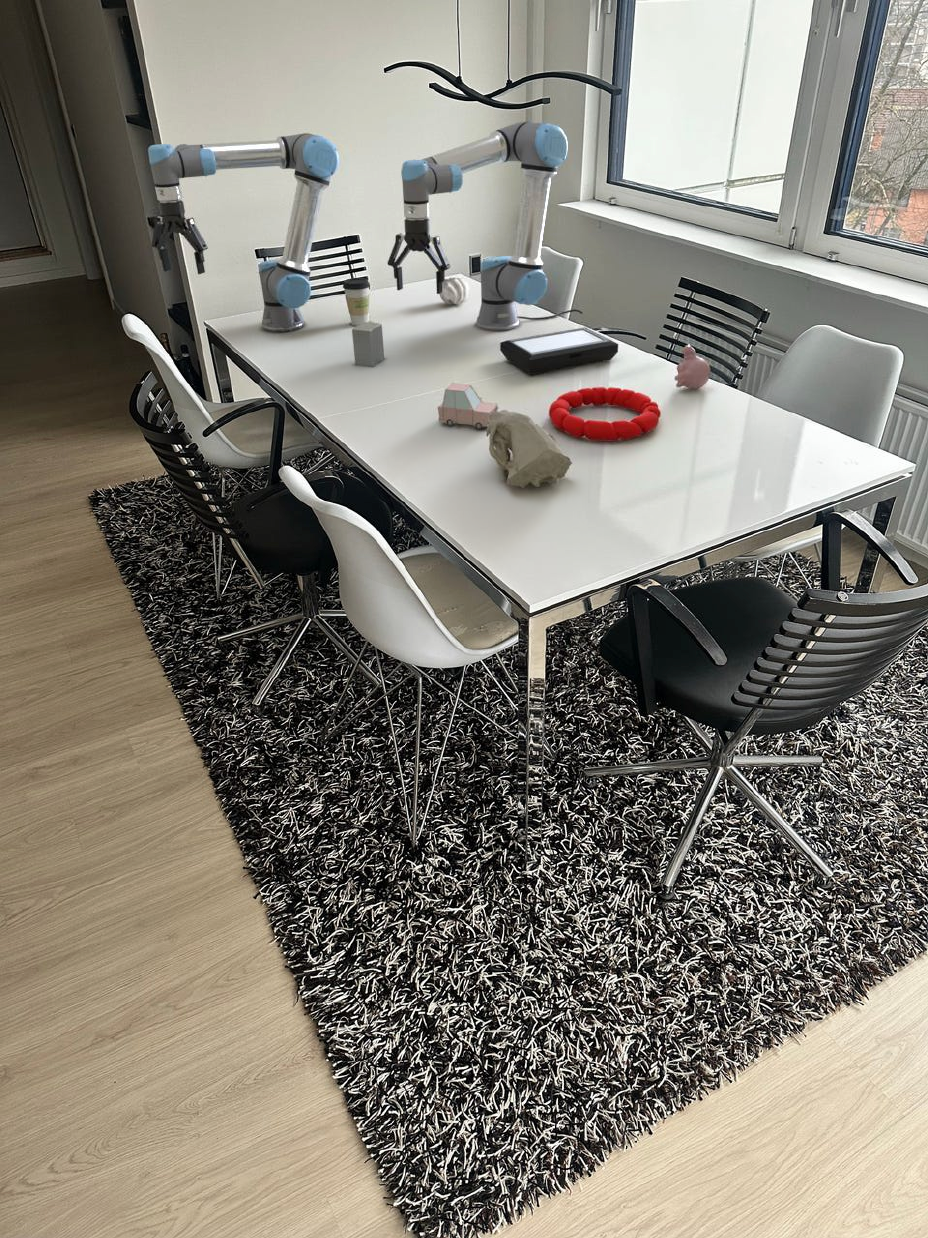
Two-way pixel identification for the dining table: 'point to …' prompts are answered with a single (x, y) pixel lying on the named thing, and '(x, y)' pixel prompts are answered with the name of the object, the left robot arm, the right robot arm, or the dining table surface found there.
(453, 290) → the seashell
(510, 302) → the right robot arm
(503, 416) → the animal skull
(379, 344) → the block
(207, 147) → the left robot arm
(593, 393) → the decorative ring
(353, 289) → the coffee cup
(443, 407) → the toy car
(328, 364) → the dining table surface
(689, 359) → the figurine
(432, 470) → the dining table surface
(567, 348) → the electronic device
